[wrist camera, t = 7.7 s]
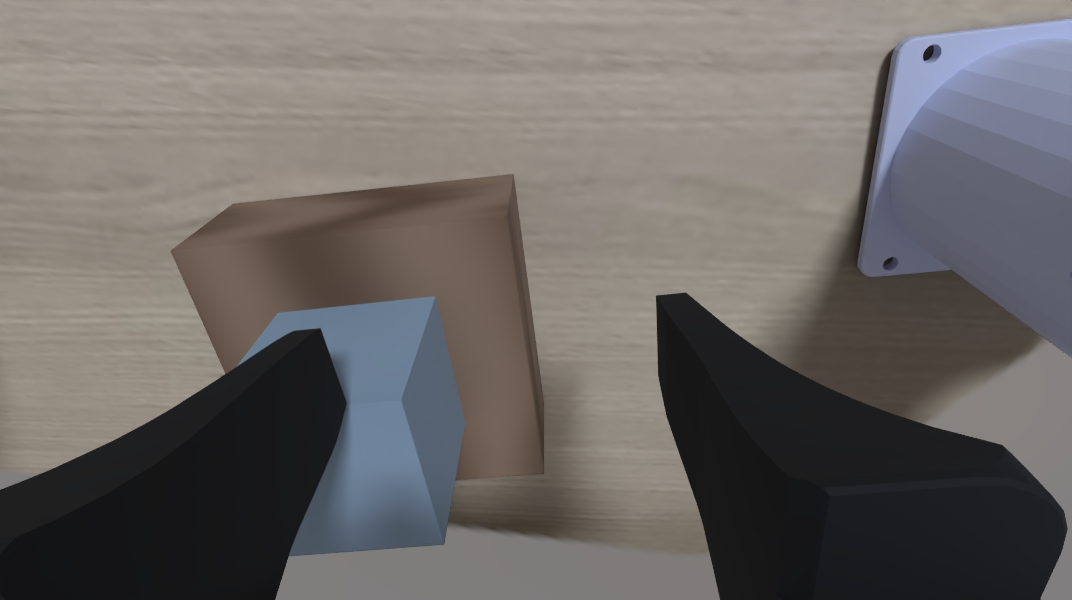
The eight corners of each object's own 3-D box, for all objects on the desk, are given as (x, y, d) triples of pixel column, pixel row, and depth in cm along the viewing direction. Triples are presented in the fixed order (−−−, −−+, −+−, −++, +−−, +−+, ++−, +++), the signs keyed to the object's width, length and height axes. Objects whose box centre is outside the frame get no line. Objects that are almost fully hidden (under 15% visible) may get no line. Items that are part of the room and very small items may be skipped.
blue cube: (435, 296, 18) (400, 399, 14) (465, 422, 21) (444, 544, 16) (278, 312, 18) (195, 419, 14) (325, 434, 21) (267, 557, 17)
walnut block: (513, 174, 20) (507, 217, 17) (543, 403, 25) (543, 473, 22) (232, 203, 21) (170, 250, 18) (314, 422, 26) (278, 493, 22)
